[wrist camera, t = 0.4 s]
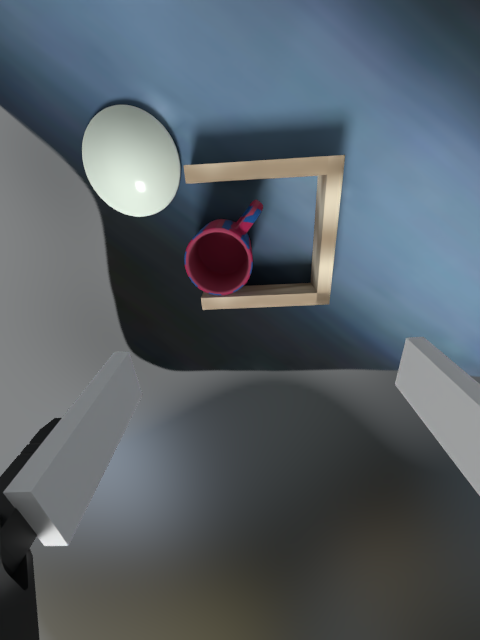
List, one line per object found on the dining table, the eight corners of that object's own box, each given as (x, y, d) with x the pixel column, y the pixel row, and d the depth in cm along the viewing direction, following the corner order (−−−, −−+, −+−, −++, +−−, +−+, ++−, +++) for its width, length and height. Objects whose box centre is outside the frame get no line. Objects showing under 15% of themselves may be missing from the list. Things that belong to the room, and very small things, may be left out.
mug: (184, 249, 32) (170, 264, 26) (241, 181, 29) (240, 180, 23) (225, 285, 34) (221, 307, 28) (283, 226, 31) (292, 236, 25)
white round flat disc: (71, 110, 26) (67, 108, 25) (172, 102, 26) (170, 100, 25) (101, 218, 31) (98, 219, 30) (187, 213, 30) (186, 213, 30)
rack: (190, 167, 28) (183, 165, 25) (333, 158, 27) (345, 154, 24) (206, 298, 35) (202, 309, 32) (321, 293, 34) (329, 304, 31)
